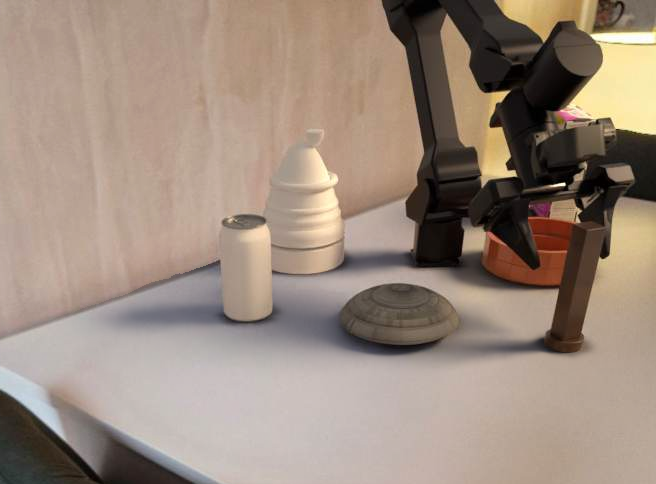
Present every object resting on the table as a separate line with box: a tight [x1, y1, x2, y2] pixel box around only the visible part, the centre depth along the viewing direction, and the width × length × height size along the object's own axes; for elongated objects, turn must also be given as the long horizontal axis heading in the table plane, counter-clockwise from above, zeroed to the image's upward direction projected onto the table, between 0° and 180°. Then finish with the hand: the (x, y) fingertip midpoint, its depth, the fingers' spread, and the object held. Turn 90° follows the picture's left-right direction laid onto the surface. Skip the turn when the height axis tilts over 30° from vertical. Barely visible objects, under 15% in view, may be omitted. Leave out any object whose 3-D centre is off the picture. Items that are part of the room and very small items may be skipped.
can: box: [218, 213, 273, 323], centre depth 98 cm, size 6×6×12 cm
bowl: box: [481, 216, 578, 287], centre depth 110 cm, size 16×16×5 cm
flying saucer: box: [338, 282, 461, 346], centre depth 95 cm, size 15×15×6 cm
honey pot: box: [262, 128, 346, 275], centre depth 111 cm, size 13×13×18 cm
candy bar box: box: [529, 103, 597, 222], centre depth 124 cm, size 11×5×16 cm, turn 179°
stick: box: [543, 221, 606, 353], centre depth 87 cm, size 4×4×14 cm
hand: (571, 263), depth 87 cm, fingers open, 9 cm apart
